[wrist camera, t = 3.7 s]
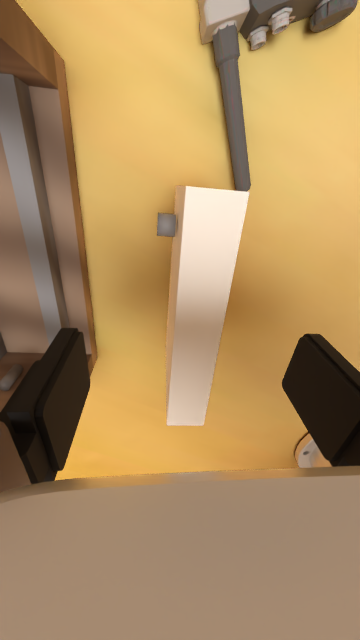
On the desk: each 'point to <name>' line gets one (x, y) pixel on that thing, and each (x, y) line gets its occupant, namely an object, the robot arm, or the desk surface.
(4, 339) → the brown wooden book rack
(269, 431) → the desk surface
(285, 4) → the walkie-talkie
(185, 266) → the door panel
